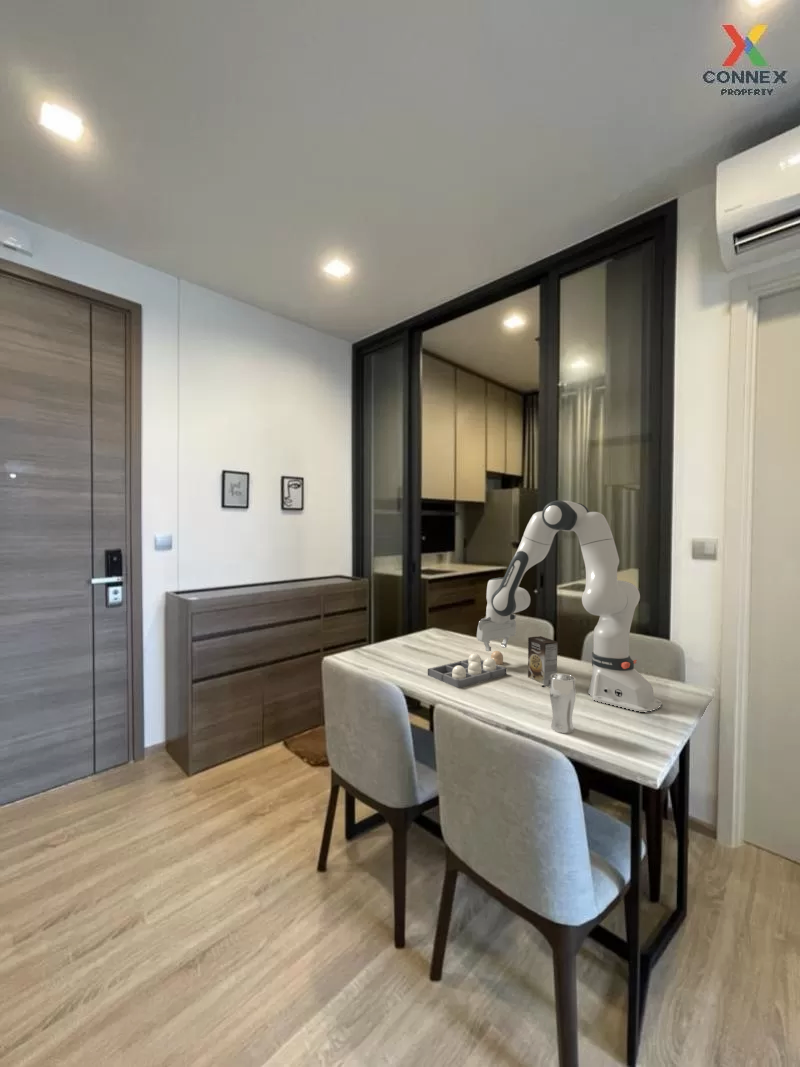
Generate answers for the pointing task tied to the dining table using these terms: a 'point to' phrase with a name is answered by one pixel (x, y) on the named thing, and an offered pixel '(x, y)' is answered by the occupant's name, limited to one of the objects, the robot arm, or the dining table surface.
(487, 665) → the egg front right
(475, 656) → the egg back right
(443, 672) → the egg carton
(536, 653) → the coffee box
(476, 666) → the egg front middle
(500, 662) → the brown egg
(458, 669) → the egg front left
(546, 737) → the dining table surface
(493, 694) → the dining table surface
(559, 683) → the beer glass
